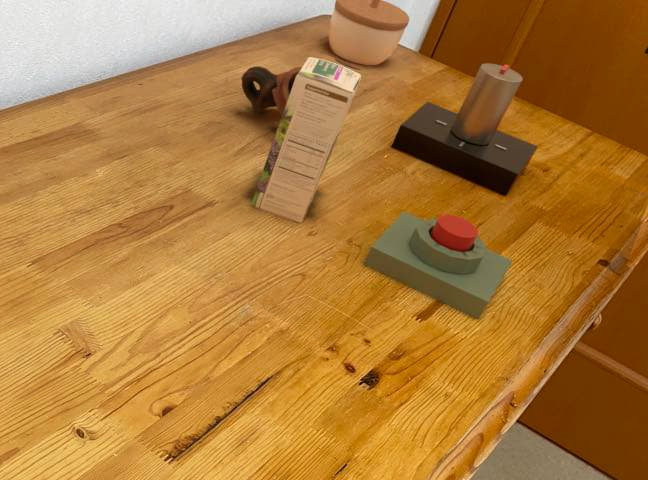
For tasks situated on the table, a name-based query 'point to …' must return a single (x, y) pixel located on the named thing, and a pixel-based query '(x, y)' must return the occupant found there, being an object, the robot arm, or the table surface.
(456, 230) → the button
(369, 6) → the trinket box
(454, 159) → the panel
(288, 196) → the syrup box
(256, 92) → the pottery mug
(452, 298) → the red push button box
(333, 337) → the table surface
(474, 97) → the knob
